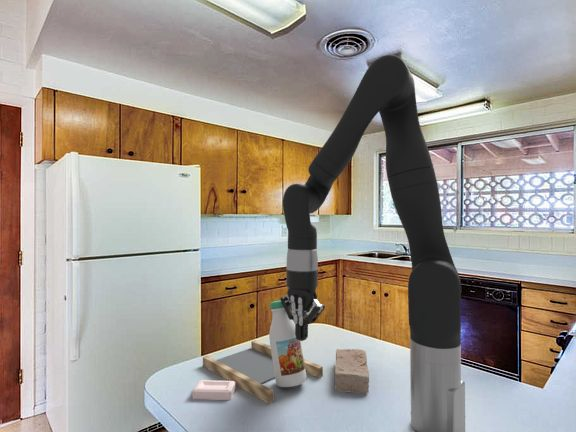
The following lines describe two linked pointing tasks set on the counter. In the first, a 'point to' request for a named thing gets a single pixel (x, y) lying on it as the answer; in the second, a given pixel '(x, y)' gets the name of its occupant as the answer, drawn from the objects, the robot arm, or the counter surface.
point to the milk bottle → (285, 349)
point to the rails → (250, 384)
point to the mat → (251, 365)
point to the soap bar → (214, 390)
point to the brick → (351, 371)
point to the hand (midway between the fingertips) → (301, 339)
